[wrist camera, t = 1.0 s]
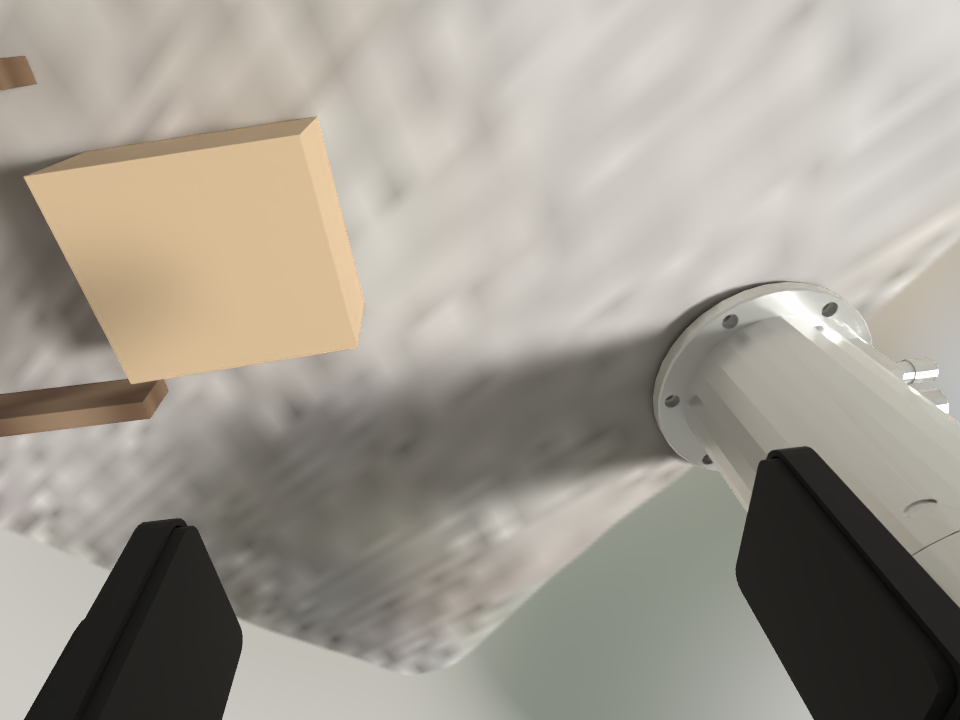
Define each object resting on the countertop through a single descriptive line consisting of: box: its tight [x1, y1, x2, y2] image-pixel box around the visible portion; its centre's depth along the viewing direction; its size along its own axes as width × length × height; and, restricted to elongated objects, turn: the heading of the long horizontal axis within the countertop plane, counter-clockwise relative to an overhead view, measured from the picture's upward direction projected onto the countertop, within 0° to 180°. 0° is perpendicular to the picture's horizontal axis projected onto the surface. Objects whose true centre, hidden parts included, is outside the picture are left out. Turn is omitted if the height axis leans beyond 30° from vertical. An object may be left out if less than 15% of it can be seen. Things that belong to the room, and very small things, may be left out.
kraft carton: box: [23, 116, 365, 384], centre depth 26 cm, size 10×9×5 cm
